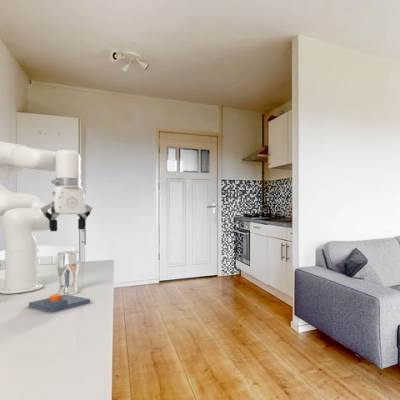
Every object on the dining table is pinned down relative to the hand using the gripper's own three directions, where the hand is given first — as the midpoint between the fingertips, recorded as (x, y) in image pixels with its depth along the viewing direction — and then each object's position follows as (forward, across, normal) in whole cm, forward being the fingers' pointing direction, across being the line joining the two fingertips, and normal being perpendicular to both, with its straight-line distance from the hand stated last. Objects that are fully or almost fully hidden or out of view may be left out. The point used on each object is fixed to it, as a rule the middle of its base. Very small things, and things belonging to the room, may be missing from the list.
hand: (68, 230), depth 126 cm
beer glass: (+23, 0, 0) cm, 23 cm away
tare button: (+21, -13, -18) cm, 31 cm away
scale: (+23, -10, -14) cm, 29 cm away
